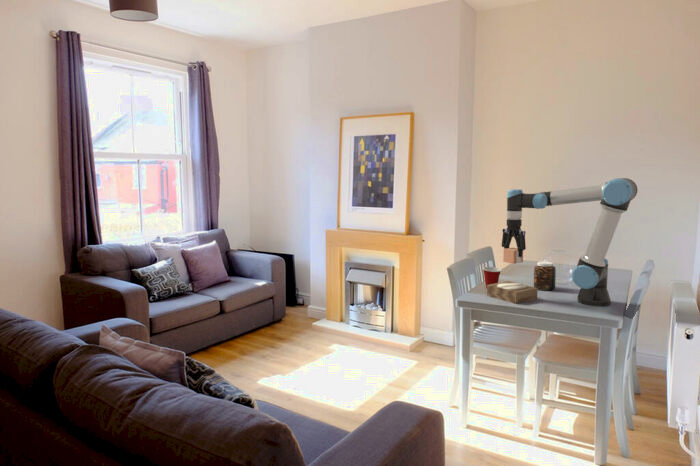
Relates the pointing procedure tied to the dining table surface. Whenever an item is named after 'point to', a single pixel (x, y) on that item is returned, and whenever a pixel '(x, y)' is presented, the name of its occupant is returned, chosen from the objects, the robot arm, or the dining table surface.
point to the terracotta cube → (511, 255)
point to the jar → (545, 276)
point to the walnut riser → (512, 292)
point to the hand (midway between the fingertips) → (512, 261)
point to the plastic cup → (491, 275)
